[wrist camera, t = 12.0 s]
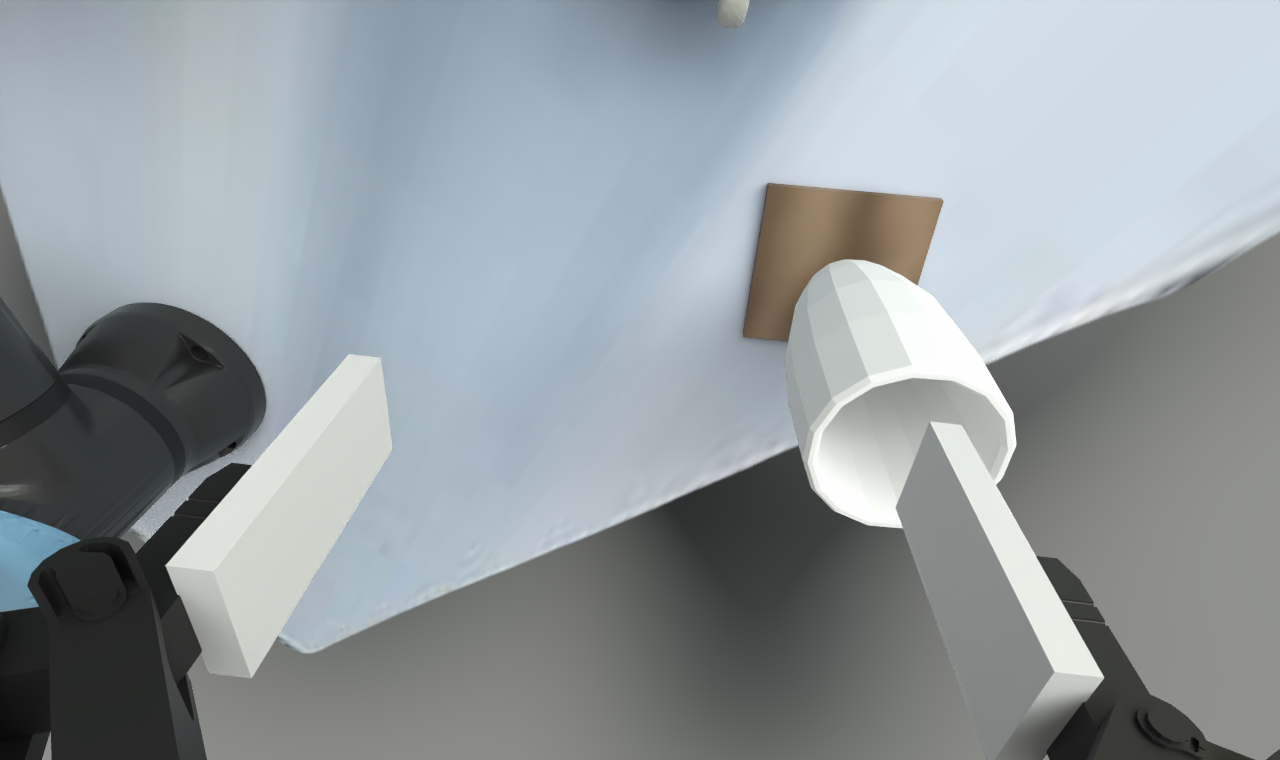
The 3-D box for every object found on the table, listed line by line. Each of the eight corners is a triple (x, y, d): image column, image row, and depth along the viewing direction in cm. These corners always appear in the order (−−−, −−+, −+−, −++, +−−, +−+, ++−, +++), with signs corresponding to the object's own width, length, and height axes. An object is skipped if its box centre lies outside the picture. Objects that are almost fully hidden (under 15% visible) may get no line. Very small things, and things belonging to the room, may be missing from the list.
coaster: (743, 333, 54) (743, 336, 54) (768, 183, 48) (768, 185, 47) (894, 347, 54) (896, 351, 53) (940, 198, 47) (943, 201, 47)
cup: (799, 356, 54) (846, 561, 36) (739, 248, 50) (758, 418, 32) (929, 298, 51) (1054, 492, 32) (877, 176, 46) (988, 322, 28)
